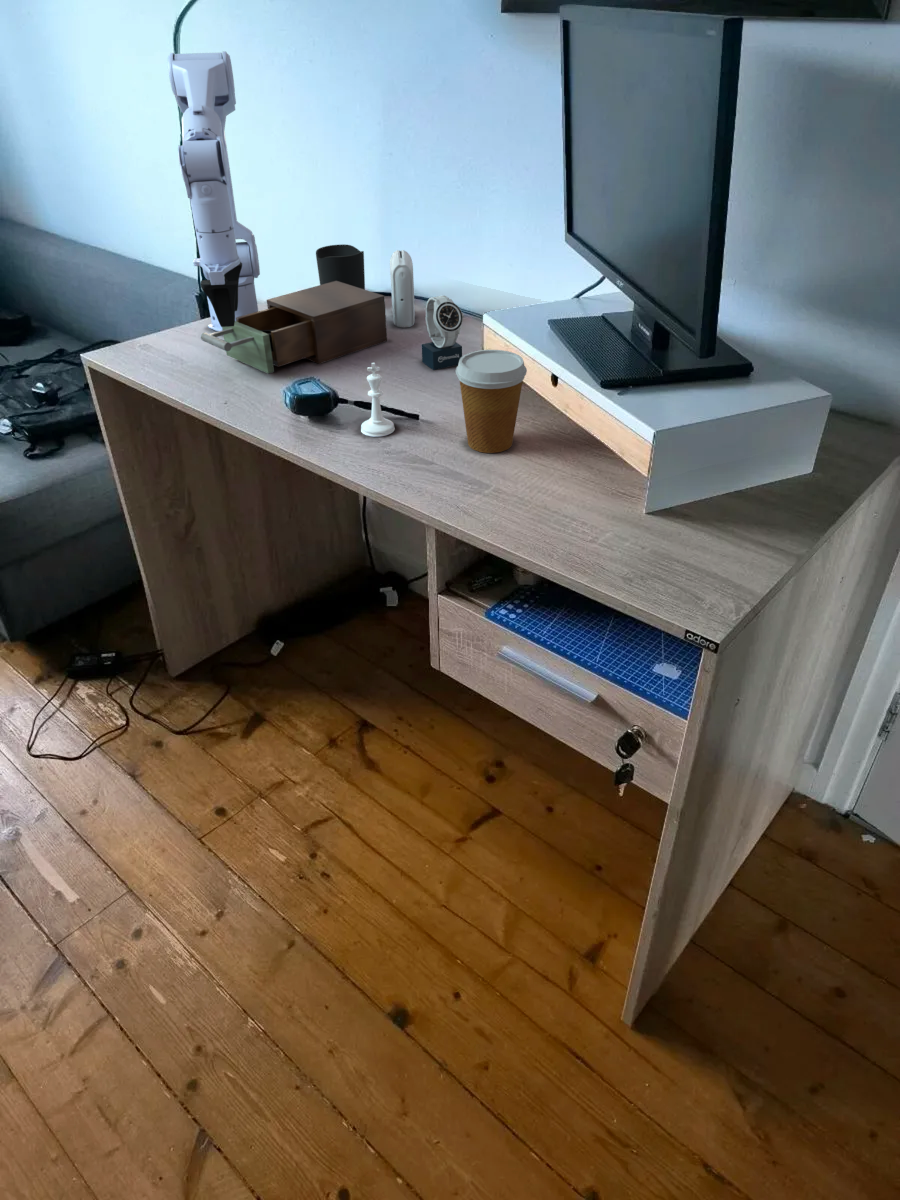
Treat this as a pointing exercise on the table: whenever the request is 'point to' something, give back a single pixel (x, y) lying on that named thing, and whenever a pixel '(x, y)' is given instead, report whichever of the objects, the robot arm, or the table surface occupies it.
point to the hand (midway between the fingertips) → (229, 318)
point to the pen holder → (341, 265)
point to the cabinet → (338, 317)
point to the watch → (442, 333)
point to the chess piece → (376, 409)
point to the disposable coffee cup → (490, 397)
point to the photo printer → (402, 289)
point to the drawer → (266, 339)
